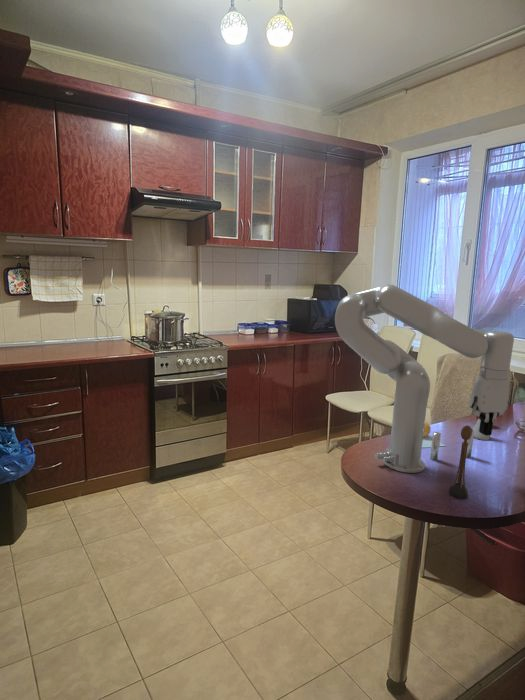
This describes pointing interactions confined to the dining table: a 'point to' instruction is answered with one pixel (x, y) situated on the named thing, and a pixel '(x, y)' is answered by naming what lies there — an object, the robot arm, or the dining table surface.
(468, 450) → the right post
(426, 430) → the ball
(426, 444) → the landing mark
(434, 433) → the left post
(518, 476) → the dining table surface
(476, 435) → the flask
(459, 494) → the wooden tabletop sculpture
